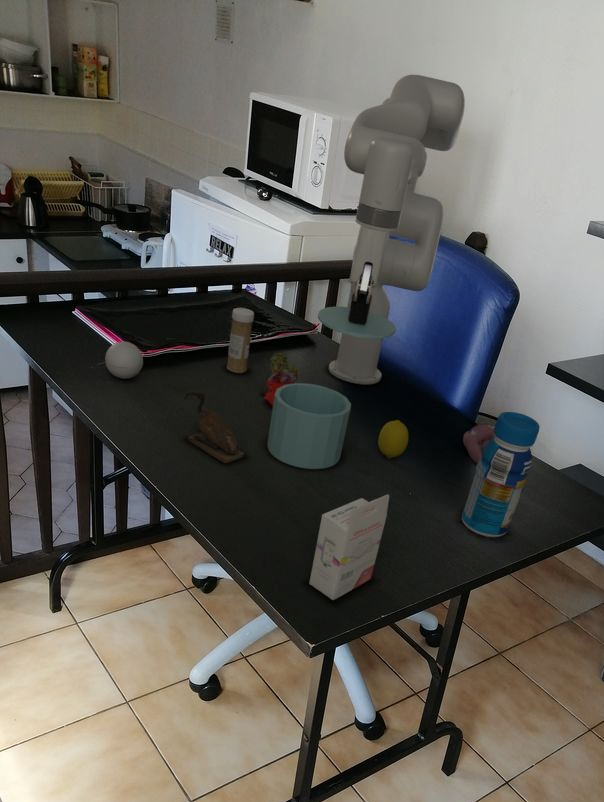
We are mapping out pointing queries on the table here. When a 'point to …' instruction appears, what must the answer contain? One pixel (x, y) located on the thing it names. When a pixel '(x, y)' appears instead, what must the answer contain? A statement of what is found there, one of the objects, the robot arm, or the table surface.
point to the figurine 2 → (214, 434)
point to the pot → (308, 425)
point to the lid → (340, 322)
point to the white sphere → (124, 360)
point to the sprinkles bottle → (240, 340)
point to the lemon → (393, 439)
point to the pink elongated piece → (478, 440)
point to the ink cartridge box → (348, 546)
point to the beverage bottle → (501, 475)
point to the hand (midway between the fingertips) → (357, 318)
